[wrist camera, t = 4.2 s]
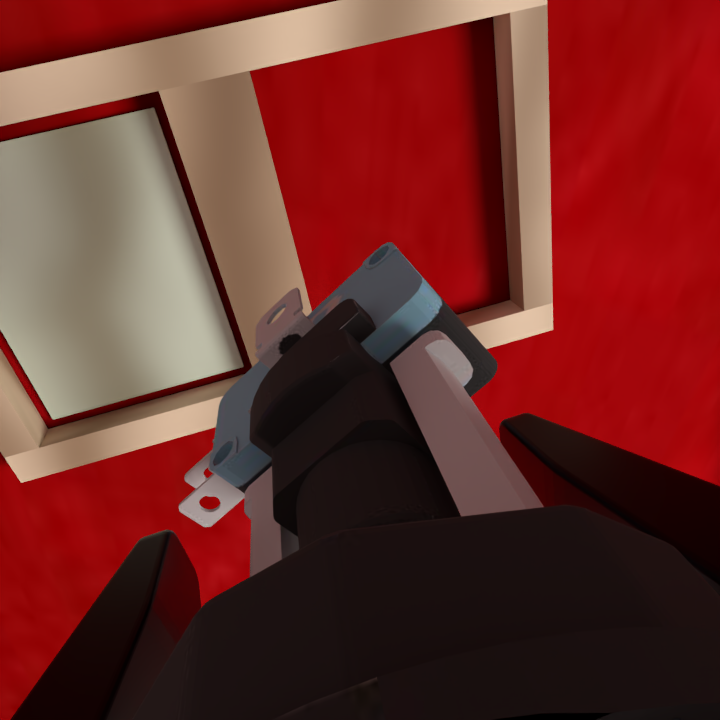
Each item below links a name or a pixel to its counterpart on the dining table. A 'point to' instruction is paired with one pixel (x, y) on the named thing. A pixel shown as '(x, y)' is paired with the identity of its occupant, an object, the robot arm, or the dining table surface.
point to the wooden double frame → (204, 219)
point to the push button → (417, 545)
